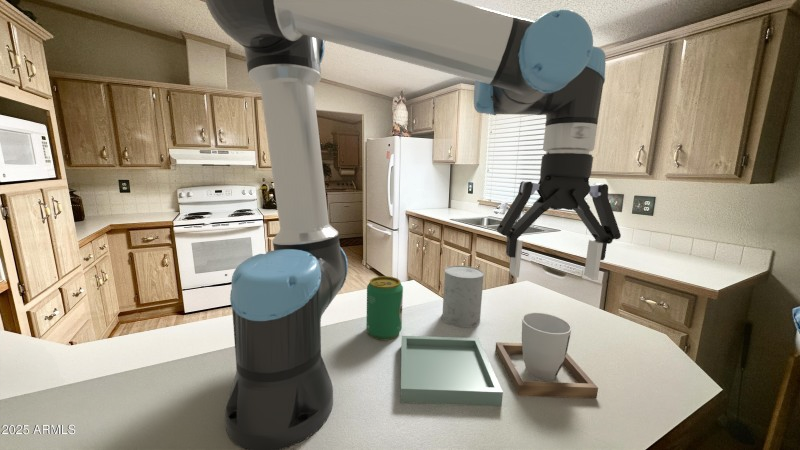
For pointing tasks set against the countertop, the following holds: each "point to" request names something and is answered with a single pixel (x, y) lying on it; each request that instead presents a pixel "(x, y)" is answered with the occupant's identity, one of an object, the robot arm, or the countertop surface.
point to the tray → (447, 372)
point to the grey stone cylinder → (462, 296)
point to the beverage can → (384, 307)
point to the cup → (544, 344)
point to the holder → (546, 389)
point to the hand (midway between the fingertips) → (552, 276)
